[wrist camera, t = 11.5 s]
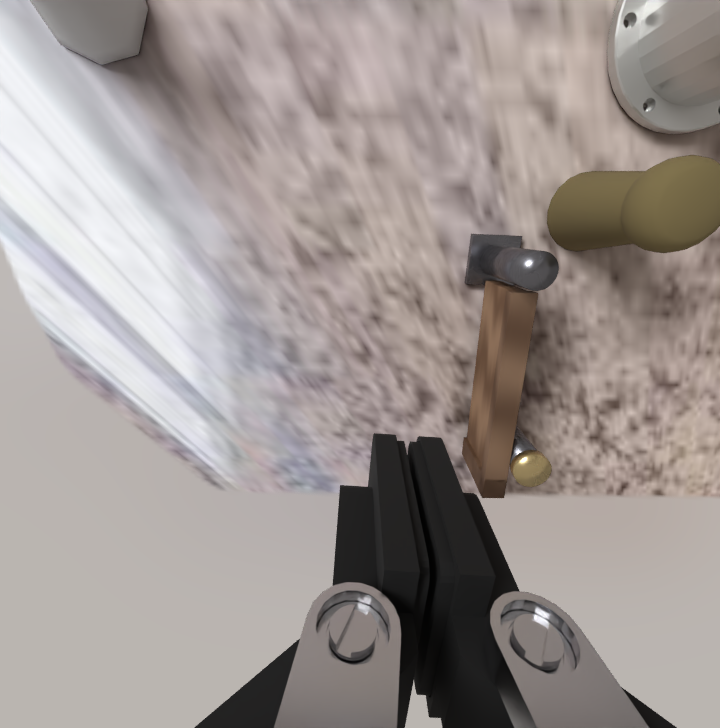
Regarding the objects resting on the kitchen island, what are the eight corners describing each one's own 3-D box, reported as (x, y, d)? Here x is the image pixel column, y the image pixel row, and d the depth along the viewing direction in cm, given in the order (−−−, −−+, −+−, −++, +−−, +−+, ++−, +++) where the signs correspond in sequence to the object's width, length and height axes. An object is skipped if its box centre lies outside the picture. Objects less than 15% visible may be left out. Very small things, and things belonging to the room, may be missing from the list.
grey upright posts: (550, 237, 31) (620, 240, 23) (510, 435, 38) (554, 495, 29) (471, 234, 31) (512, 235, 23) (444, 433, 38) (469, 493, 29)
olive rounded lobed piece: (637, 187, 30) (783, 166, 20) (597, 261, 32) (710, 277, 22) (570, 159, 29) (685, 121, 19) (533, 236, 31) (619, 240, 21)
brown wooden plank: (482, 280, 32) (511, 293, 25) (503, 280, 32) (538, 293, 25) (462, 453, 37) (482, 497, 31) (480, 453, 37) (504, 498, 31)
